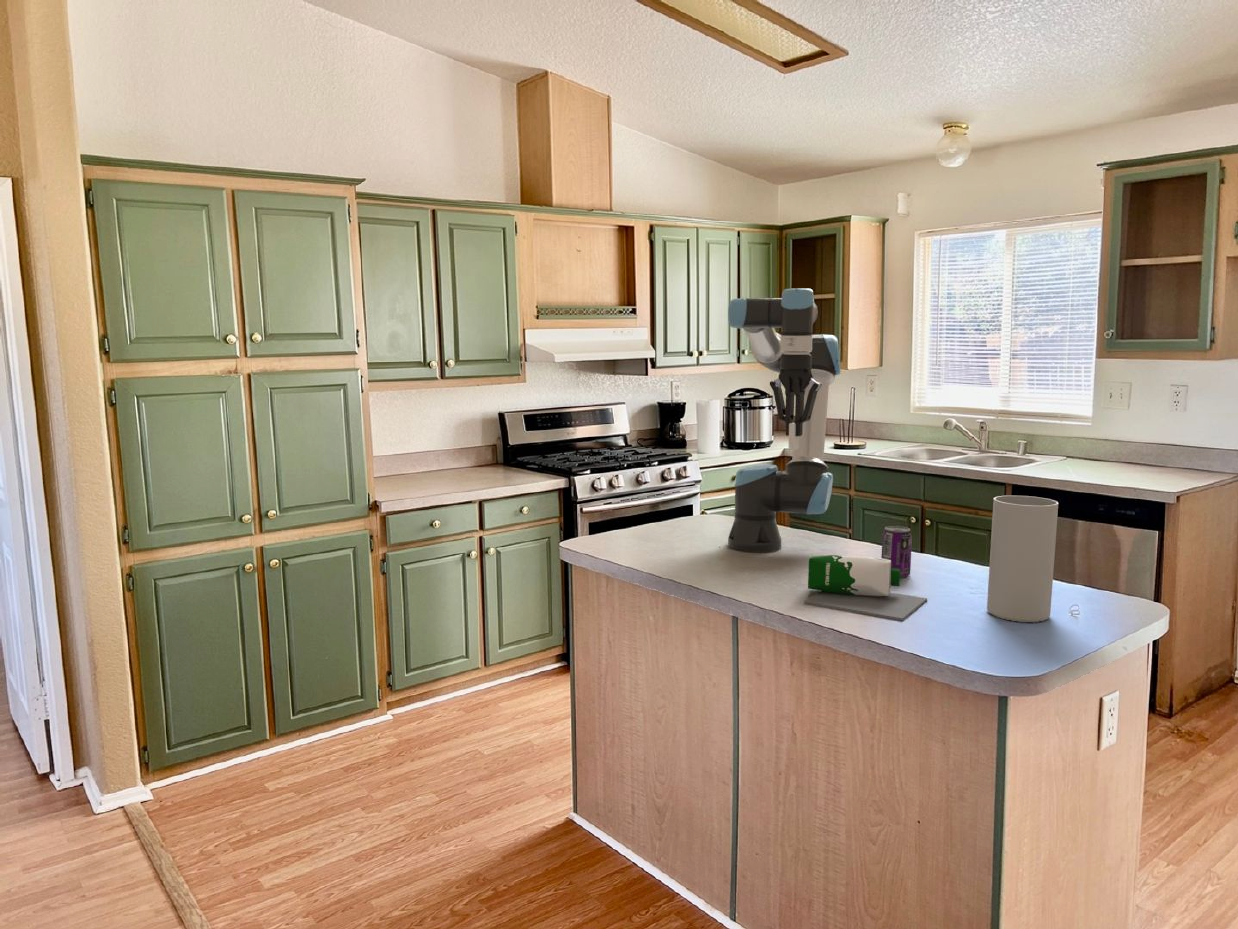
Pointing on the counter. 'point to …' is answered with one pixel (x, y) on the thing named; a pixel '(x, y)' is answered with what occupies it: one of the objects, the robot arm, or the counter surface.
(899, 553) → the beverage can
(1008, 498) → the cylinder vase
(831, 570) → the soya milk
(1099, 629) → the counter surface
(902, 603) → the mat
